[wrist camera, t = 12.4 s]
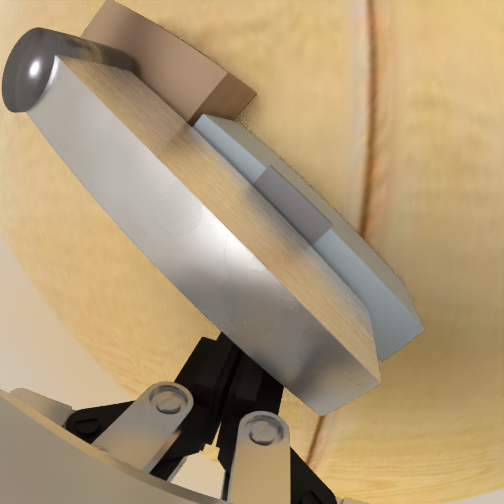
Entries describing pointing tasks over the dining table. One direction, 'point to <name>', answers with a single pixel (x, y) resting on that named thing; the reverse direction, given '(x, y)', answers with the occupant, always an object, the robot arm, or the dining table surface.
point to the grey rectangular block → (320, 232)
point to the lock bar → (195, 217)
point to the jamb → (170, 65)
